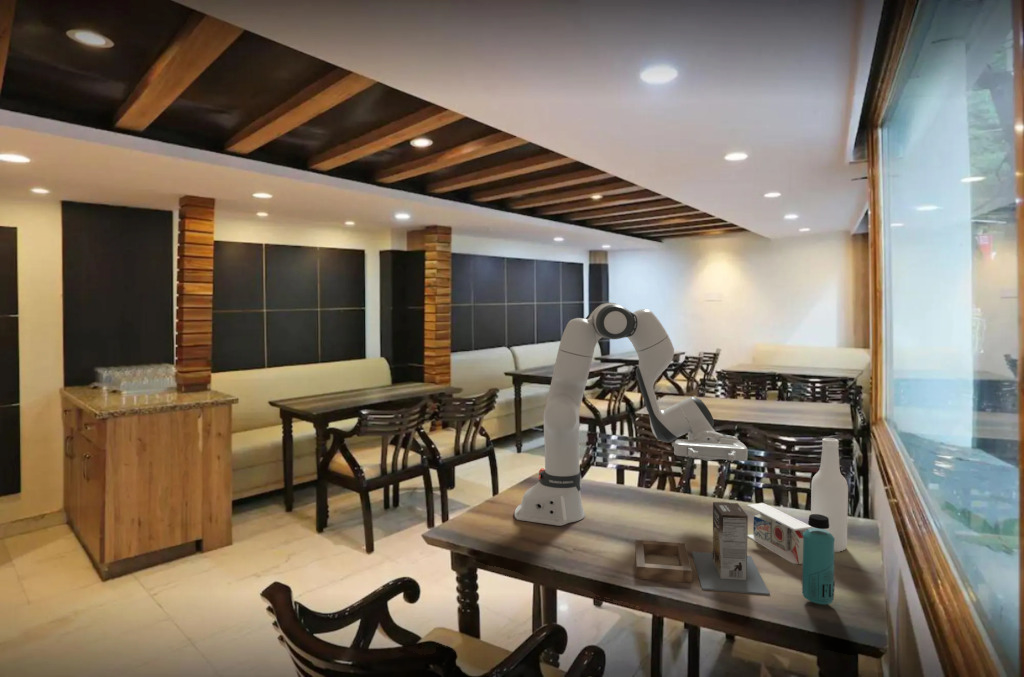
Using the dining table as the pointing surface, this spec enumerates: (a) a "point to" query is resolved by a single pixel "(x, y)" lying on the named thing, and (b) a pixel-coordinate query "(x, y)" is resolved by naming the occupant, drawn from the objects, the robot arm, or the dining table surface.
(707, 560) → the rubber mat
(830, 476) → the alcohol
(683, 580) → the walnut cradle
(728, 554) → the coffee box
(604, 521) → the dining table surface
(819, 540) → the beverage bottle
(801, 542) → the cigarette display
